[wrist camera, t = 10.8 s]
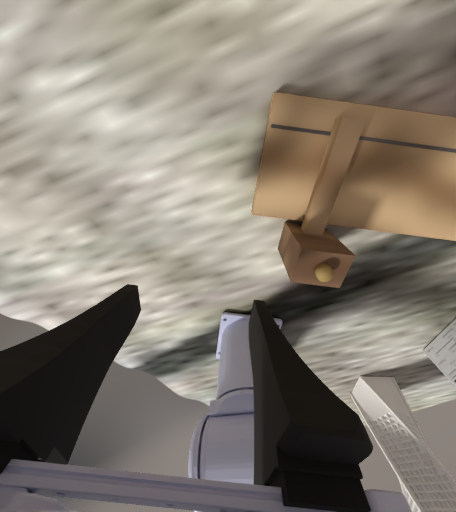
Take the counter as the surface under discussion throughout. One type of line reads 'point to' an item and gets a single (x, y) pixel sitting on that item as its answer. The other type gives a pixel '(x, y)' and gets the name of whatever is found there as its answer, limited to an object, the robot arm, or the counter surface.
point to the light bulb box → (444, 352)
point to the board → (362, 166)
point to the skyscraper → (404, 445)
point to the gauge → (322, 217)
